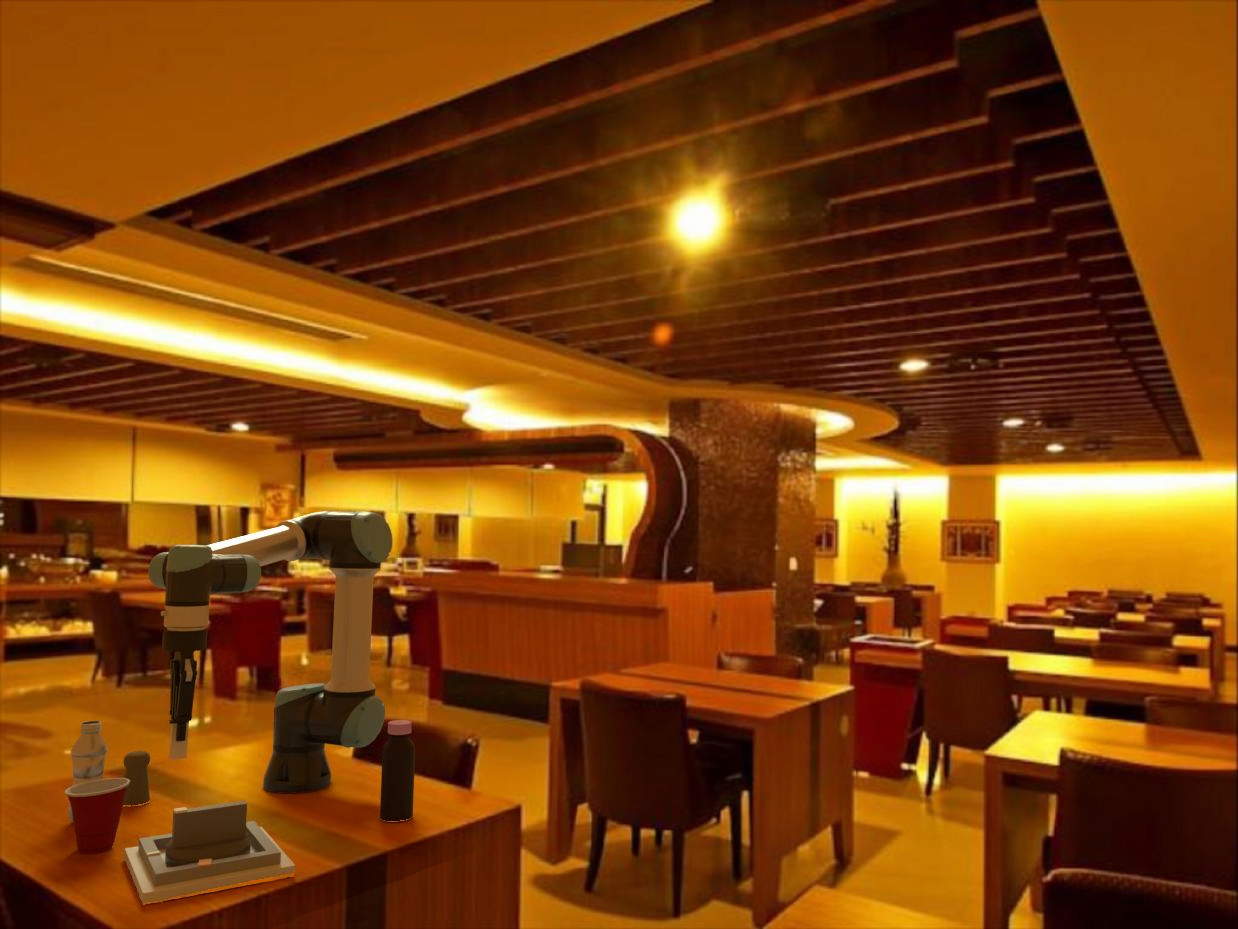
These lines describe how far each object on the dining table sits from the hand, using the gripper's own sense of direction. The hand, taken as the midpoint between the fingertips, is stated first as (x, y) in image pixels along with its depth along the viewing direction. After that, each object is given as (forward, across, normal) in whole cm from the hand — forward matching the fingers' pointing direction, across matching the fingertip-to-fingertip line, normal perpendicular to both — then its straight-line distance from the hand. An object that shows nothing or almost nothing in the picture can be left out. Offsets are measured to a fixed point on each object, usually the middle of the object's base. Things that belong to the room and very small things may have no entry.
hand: (178, 757), depth 170 cm
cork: (+19, -41, -1) cm, 45 cm away
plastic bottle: (+19, -32, -11) cm, 39 cm away
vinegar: (+18, -3, +44) cm, 48 cm away
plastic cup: (+19, -14, -11) cm, 26 cm away
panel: (+19, +7, +5) cm, 20 cm away
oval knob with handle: (+17, +7, +5) cm, 18 cm away
